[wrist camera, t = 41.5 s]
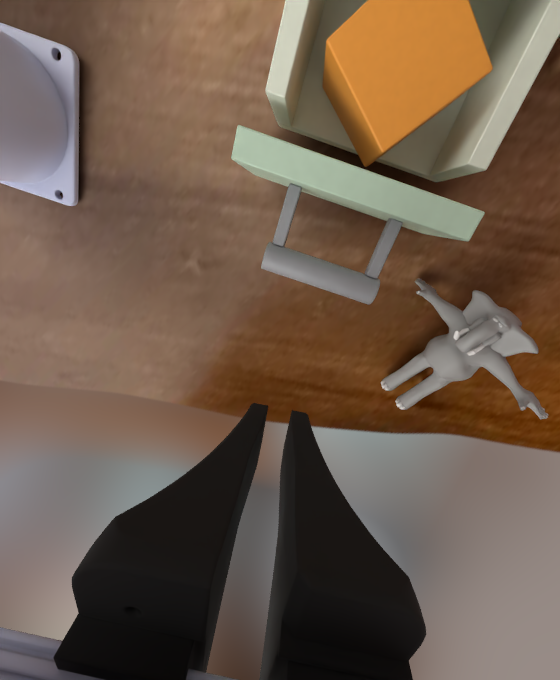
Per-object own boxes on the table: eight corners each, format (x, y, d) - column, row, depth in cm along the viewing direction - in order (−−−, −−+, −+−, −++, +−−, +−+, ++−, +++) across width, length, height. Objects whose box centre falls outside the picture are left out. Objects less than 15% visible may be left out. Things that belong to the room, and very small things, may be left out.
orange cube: (364, 168, 15) (382, 153, 11) (321, 85, 14) (325, 39, 10) (445, 107, 13) (494, 68, 10) (404, 10, 12) (444, -74, 9)
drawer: (390, 299, 18) (418, 330, 14) (237, 247, 18) (209, 260, 13) (579, -80, 12) (771, -289, 7) (337, -175, 11) (357, -469, 6)
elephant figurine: (331, 345, 21) (424, 246, 15) (377, 334, 25) (468, 250, 19) (419, 477, 17) (596, 417, 11) (459, 440, 21) (608, 380, 15)
